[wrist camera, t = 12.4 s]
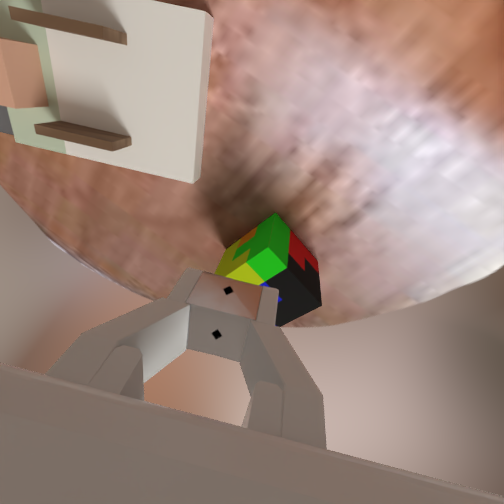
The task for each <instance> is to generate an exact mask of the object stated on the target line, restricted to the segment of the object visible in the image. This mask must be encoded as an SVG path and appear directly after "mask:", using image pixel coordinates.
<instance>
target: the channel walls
mask: <svg viewBox="0 0 504 504" xmlns="http://www.w3.org/2000/svg"><path fill="white" fill-rule="evenodd" d="M8 8H9V12H10V17H11V20H15V21H19V22H24V23H28V24H32V25H36V26H40V27H44V28H49V29H54V30H58V31H63V32H67V33H72V34H77V35H81V36H86V37H90V38H95V39H100V40H104V41H109V42H114V43H118V44H123V45H127V33H124V32H121V31H117V30H114V29H111V28H108V27H105V26H101V25H97V24H92V23H87V22H83V21H78V20H73V19H69V18H64V17H59V16H55V15H50V14H45V13H41V12H36V11H31V10H27V9H22V8H17V7H13V6H8ZM34 128H35V132H36V134H39V135H43V136H47V137H52V138H56V139H60V140H65V141H69V142H73V143H77V144H82V145H86V146H90V147H95V148H99V149H103V150H108V151H112V152H113V151H116V150H119V149H122V148H125V147H128V146H131V145H132V139H131V137H130V136H126V135H121V134H117V133H113V132H108V131H104V130H100V129H95V128H91V127H86V126H82V125H78V124H73V123H69V122H65V121H54V122H46V123H39V124H34Z"/></svg>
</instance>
